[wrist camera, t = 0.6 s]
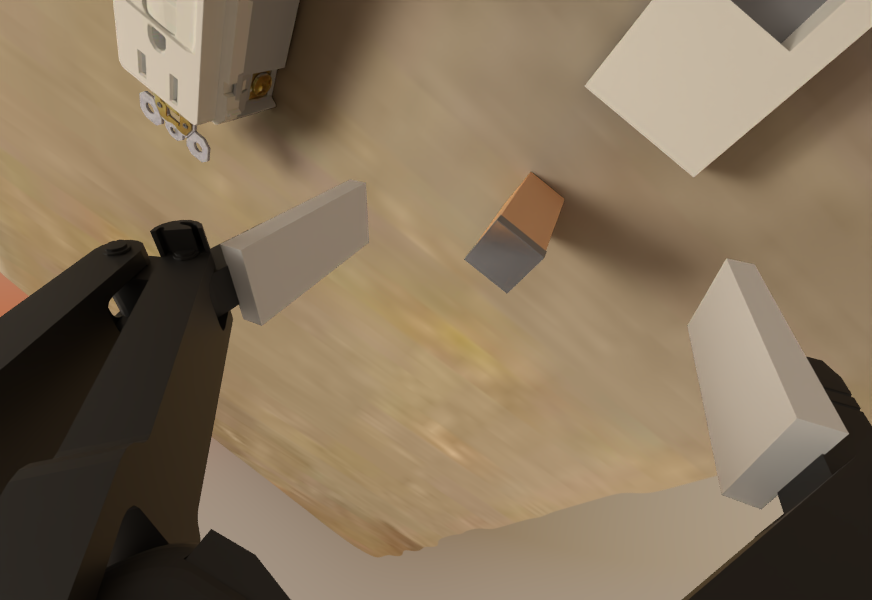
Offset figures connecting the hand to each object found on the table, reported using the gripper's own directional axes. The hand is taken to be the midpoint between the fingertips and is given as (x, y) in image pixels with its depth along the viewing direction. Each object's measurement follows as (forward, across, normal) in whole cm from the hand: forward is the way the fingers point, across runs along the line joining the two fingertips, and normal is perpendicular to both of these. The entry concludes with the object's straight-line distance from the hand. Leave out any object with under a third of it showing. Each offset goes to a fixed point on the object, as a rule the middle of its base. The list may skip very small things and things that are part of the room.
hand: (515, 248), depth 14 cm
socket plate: (+23, +8, +8) cm, 25 cm away
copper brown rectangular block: (+23, -2, -6) cm, 24 cm away
